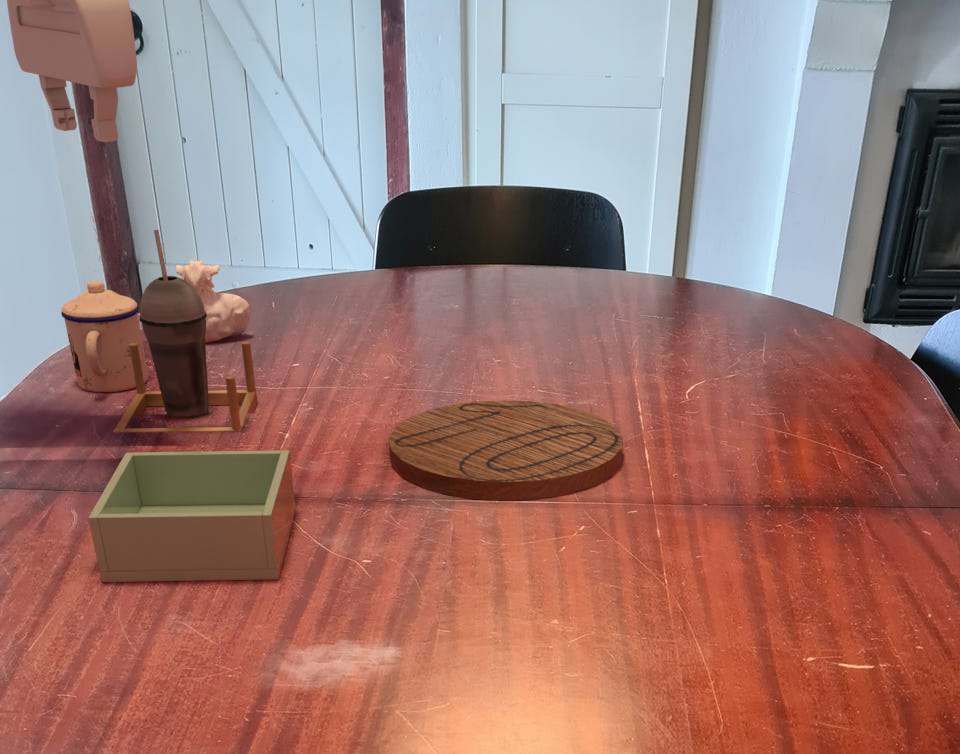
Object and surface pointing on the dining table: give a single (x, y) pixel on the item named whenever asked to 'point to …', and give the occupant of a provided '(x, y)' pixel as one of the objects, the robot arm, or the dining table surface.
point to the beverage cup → (176, 342)
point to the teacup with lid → (103, 339)
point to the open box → (195, 516)
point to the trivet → (505, 450)
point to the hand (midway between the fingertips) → (86, 135)
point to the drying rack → (215, 398)
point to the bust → (216, 302)
